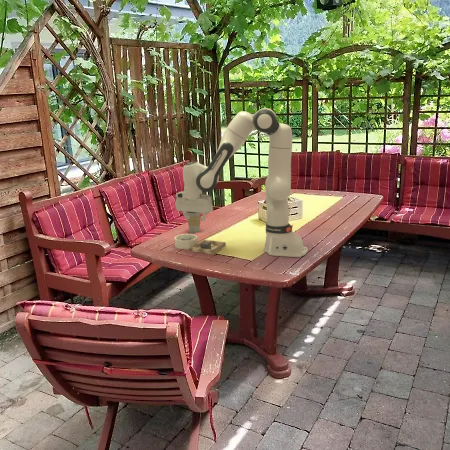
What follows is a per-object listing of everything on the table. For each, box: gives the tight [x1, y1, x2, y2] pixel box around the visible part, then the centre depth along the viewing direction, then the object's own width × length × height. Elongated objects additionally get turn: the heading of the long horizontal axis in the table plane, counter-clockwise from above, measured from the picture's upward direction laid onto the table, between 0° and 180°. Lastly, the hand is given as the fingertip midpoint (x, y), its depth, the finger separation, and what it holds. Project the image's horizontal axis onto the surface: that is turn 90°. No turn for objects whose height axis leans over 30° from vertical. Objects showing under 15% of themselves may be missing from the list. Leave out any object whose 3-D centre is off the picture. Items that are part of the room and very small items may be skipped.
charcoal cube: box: [200, 241, 211, 250], centre depth 243 cm, size 4×4×4 cm
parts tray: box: [190, 239, 227, 255], centre depth 246 cm, size 13×14×3 cm
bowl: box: [174, 233, 199, 250], centre depth 252 cm, size 12×12×6 cm
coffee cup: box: [186, 212, 202, 234], centre depth 276 cm, size 9×9×15 cm
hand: (195, 219), depth 244 cm, fingers open, 8 cm apart
